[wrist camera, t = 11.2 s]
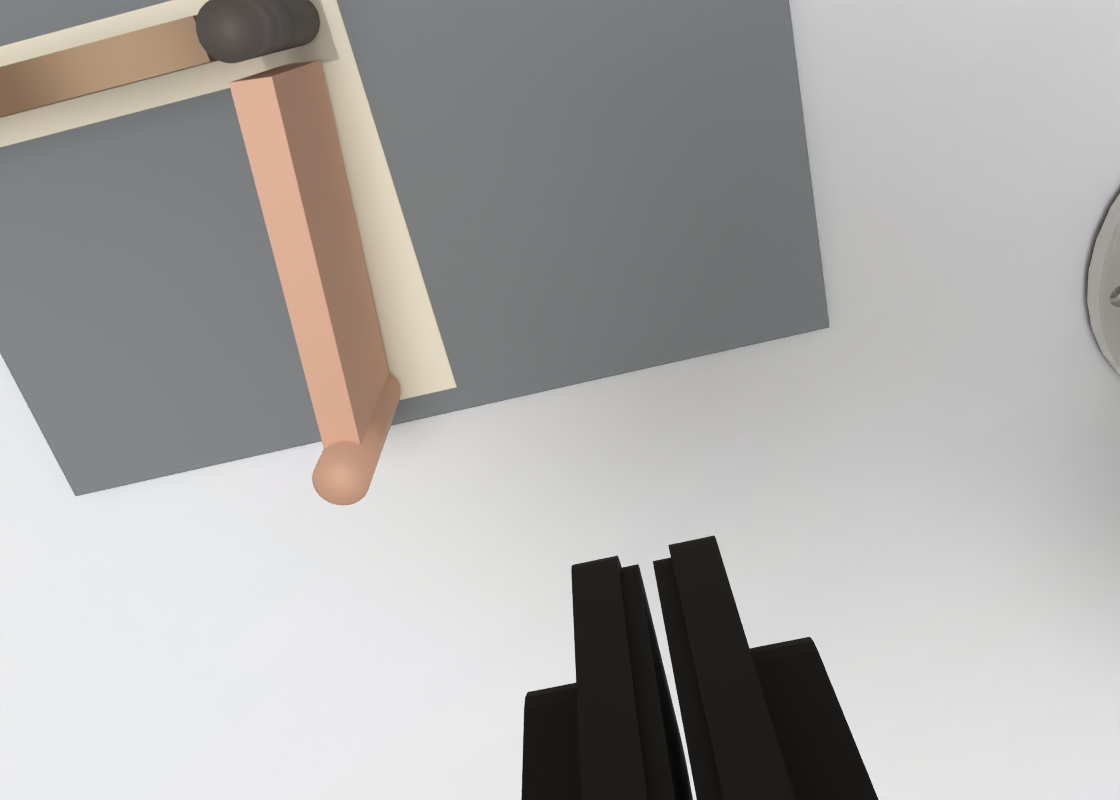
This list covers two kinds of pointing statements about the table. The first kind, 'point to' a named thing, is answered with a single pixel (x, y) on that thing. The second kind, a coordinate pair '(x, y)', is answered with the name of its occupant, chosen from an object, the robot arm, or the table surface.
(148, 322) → the mat
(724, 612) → the robot arm
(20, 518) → the table surface
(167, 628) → the table surface
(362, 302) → the fence swing section
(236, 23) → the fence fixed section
